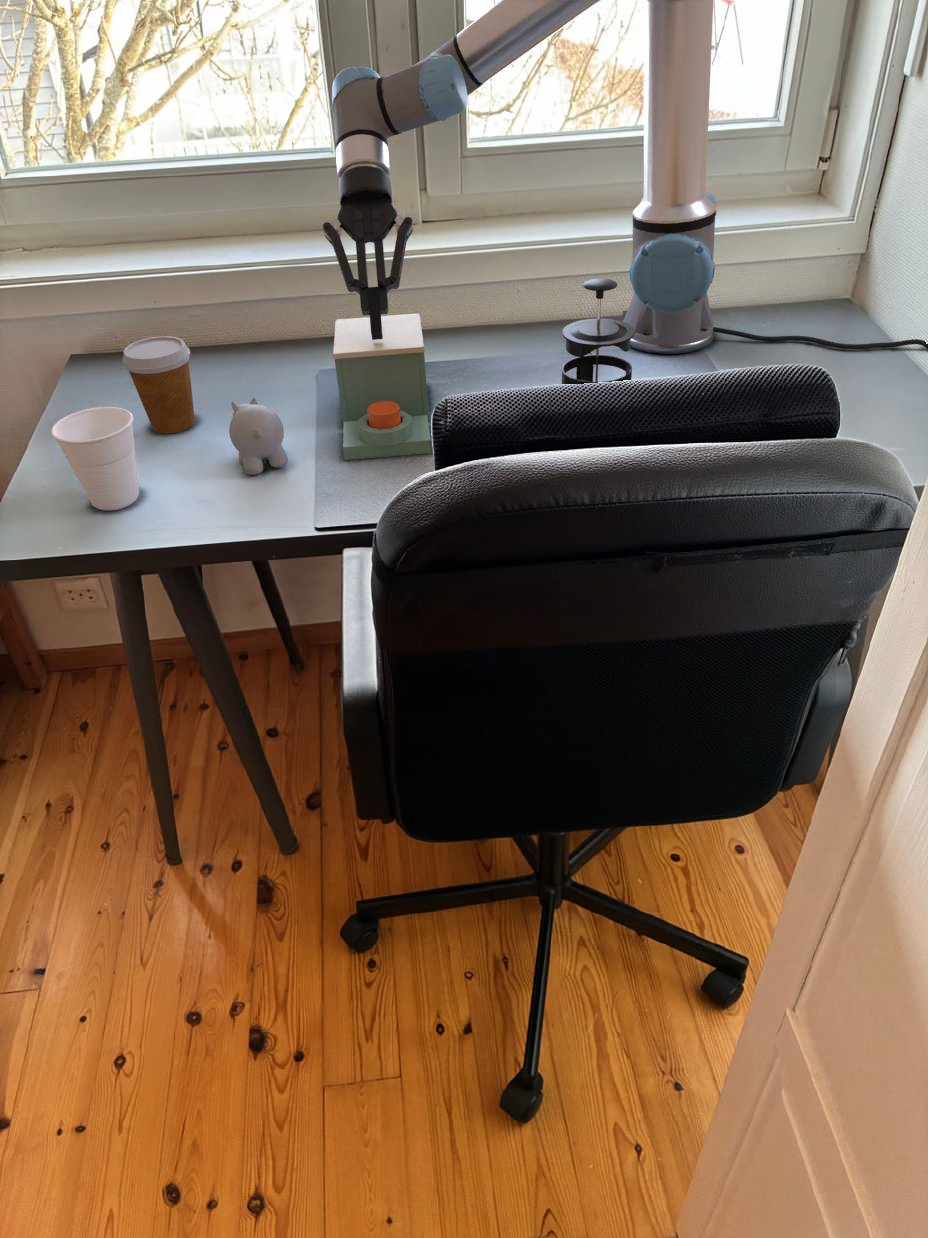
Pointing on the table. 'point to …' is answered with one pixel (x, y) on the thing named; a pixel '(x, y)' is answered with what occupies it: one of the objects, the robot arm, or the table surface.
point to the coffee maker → (382, 383)
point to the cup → (101, 454)
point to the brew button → (384, 415)
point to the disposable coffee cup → (162, 381)
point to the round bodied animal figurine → (257, 436)
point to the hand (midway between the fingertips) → (376, 335)
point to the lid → (397, 339)
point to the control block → (386, 438)
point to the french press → (596, 341)
